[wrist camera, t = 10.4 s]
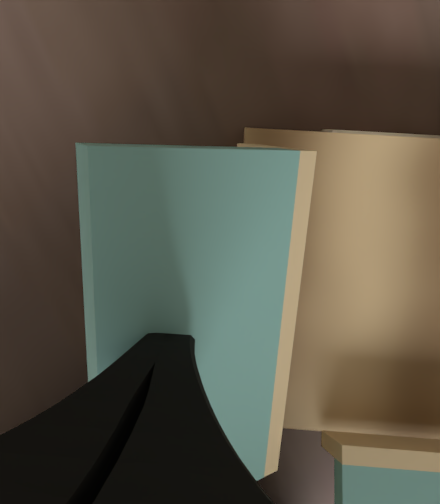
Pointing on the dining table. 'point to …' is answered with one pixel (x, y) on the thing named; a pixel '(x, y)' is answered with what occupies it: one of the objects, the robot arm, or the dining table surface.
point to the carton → (367, 285)
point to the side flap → (384, 468)
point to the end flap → (200, 269)
